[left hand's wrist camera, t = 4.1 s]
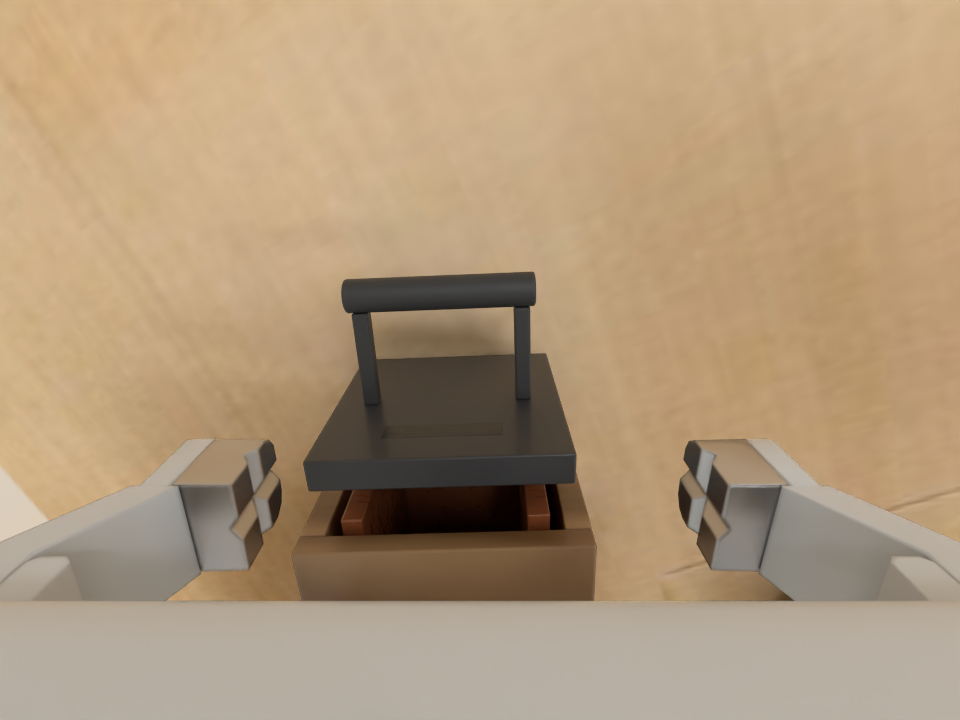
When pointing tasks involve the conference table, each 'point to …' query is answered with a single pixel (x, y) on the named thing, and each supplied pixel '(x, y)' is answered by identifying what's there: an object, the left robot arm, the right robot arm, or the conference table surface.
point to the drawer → (444, 421)
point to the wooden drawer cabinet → (449, 558)
